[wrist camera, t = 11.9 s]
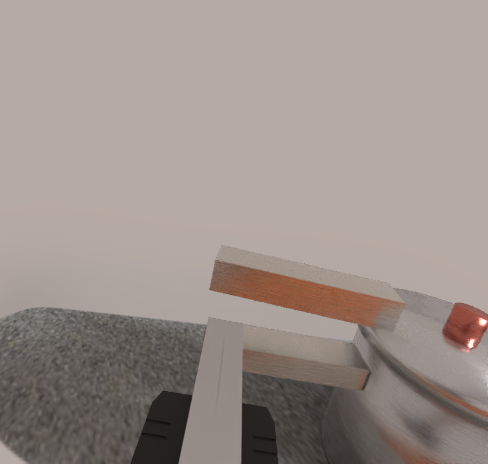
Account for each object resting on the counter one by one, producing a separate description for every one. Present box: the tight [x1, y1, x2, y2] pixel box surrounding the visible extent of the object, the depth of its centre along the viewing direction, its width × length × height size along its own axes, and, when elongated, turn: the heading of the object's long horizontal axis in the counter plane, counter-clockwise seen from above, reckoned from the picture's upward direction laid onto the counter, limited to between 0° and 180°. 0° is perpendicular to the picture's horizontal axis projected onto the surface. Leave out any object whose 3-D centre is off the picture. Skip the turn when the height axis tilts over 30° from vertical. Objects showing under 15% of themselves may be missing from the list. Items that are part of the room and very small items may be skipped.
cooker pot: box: [242, 324, 488, 464], centre depth 25 cm, size 26×14×12 cm, turn 91°
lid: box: [209, 245, 488, 428], centre depth 23 cm, size 28×15×4 cm, turn 86°
